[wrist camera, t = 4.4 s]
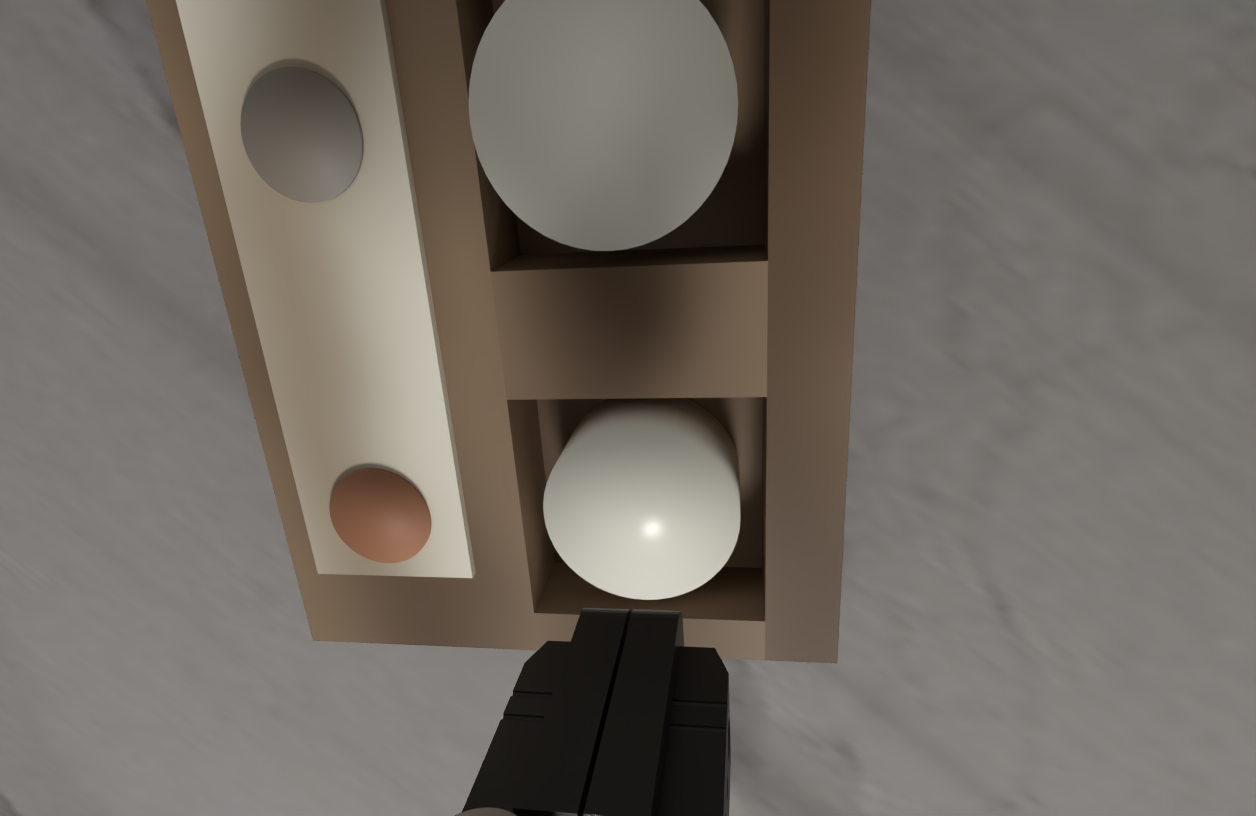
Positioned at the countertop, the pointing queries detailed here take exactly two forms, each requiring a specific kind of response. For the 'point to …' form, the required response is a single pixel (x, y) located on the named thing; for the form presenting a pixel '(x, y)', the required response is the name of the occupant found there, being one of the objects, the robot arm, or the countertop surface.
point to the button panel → (518, 317)
